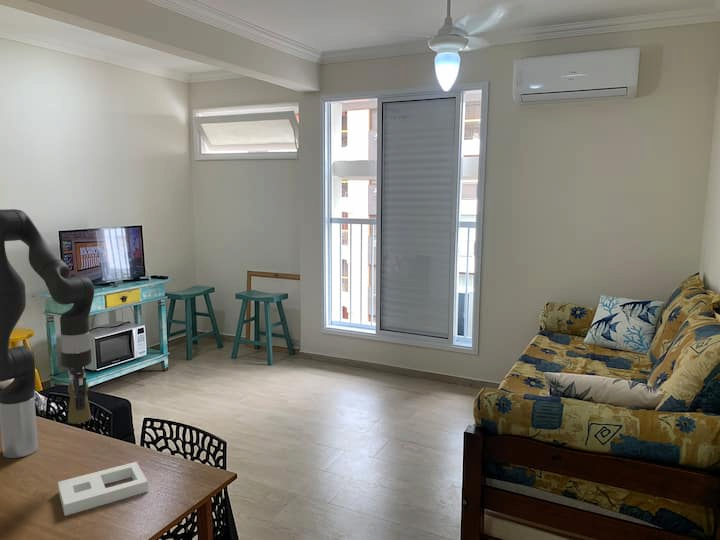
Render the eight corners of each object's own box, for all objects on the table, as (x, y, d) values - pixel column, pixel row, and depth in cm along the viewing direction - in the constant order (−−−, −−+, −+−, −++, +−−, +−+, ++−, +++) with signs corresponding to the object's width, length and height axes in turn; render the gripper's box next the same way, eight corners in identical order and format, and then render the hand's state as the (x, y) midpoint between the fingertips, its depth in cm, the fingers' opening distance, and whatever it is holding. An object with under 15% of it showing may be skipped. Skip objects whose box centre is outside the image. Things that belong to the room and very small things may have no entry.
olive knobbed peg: (81, 424, 148) (79, 386, 146) (62, 422, 149) (60, 384, 147) (96, 415, 154) (94, 379, 152) (78, 413, 155) (76, 377, 153)
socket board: (58, 492, 143) (57, 481, 143) (136, 471, 155) (136, 461, 154) (64, 516, 133) (63, 504, 132) (148, 491, 144) (147, 481, 144)
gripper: (57, 343, 152) (60, 400, 154) (64, 356, 140) (67, 418, 143) (86, 340, 156) (89, 395, 159) (95, 352, 145) (98, 412, 147)
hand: (79, 406), depth 151 cm, fingers closed on olive knobbed peg, 4 cm apart
